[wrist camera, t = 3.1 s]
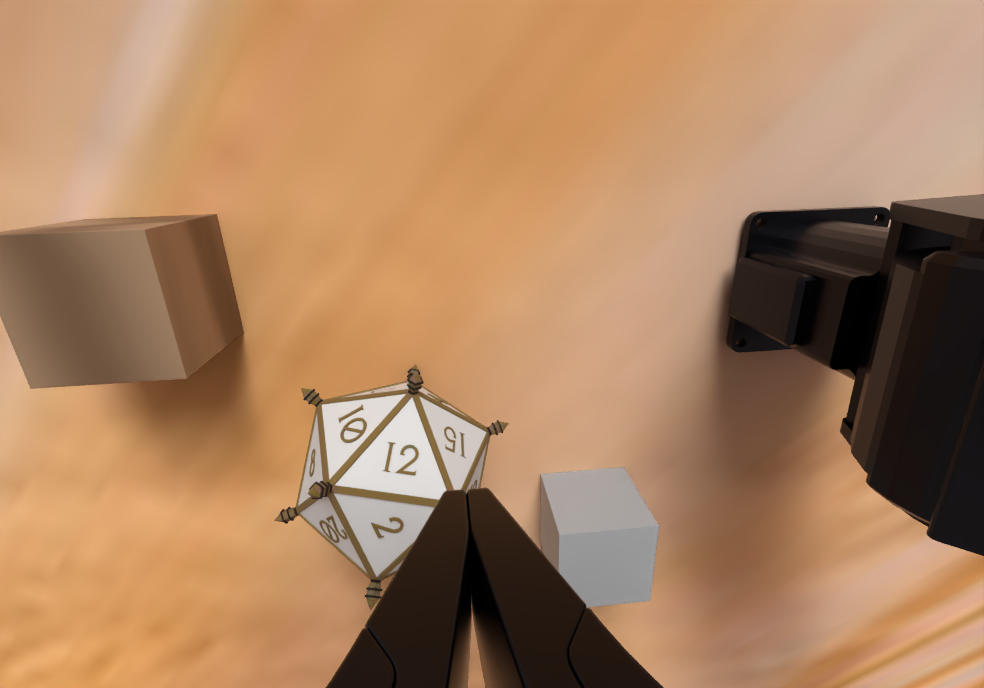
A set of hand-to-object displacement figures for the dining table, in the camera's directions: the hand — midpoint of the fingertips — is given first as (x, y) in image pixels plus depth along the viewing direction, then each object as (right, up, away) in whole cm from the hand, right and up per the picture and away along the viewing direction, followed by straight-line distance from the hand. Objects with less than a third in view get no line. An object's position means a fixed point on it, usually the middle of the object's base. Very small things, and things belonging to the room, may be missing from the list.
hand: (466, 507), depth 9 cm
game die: (-4, -1, +14) cm, 15 cm away
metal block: (-13, +6, +11) cm, 18 cm away
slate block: (+5, -6, +17) cm, 19 cm away
